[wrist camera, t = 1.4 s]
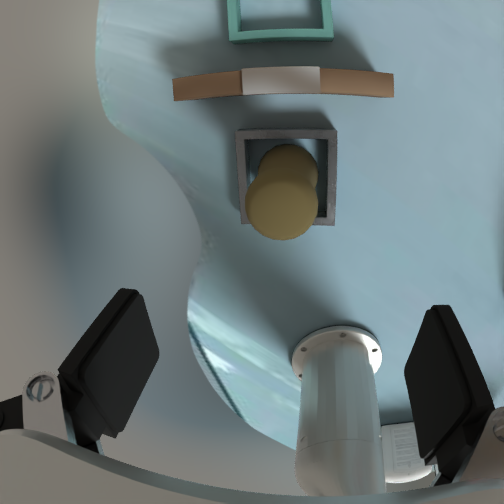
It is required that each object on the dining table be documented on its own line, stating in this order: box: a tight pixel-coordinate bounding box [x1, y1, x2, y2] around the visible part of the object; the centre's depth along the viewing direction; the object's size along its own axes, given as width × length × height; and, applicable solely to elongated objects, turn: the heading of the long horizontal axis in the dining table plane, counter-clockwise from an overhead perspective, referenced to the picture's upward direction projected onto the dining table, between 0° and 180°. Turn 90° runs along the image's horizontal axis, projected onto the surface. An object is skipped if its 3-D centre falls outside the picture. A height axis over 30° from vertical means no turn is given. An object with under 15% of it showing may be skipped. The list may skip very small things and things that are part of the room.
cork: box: [245, 144, 319, 240], centre depth 25 cm, size 6×6×11 cm
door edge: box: [172, 66, 394, 101], centre depth 23 cm, size 2×18×5 cm, turn 93°
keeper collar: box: [235, 128, 337, 226], centre depth 29 cm, size 9×9×2 cm
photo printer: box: [381, 422, 432, 483], centre depth 42 cm, size 10×4×12 cm, turn 96°
